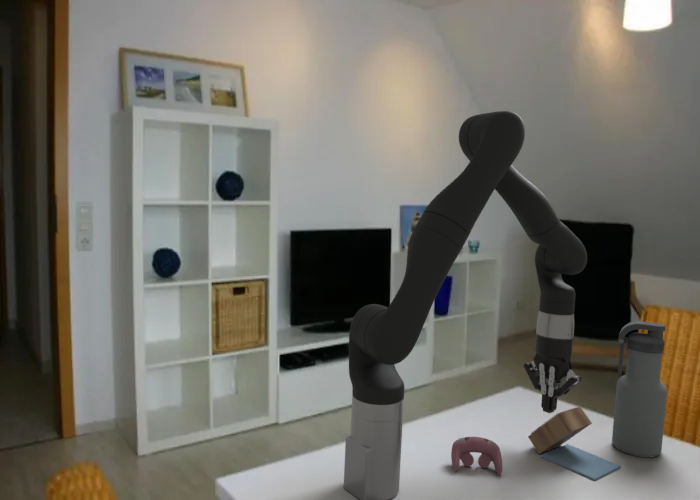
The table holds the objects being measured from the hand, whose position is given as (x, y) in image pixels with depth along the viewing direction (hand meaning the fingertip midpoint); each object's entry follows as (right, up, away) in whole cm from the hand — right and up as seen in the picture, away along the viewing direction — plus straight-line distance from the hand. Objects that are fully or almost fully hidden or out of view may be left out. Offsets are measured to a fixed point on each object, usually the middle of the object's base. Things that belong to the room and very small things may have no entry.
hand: (548, 411), depth 123 cm
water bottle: (+20, -9, +2) cm, 22 cm away
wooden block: (-1, -7, +1) cm, 7 cm away
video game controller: (-18, -9, -10) cm, 22 cm away
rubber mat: (+5, -9, -6) cm, 11 cm away
